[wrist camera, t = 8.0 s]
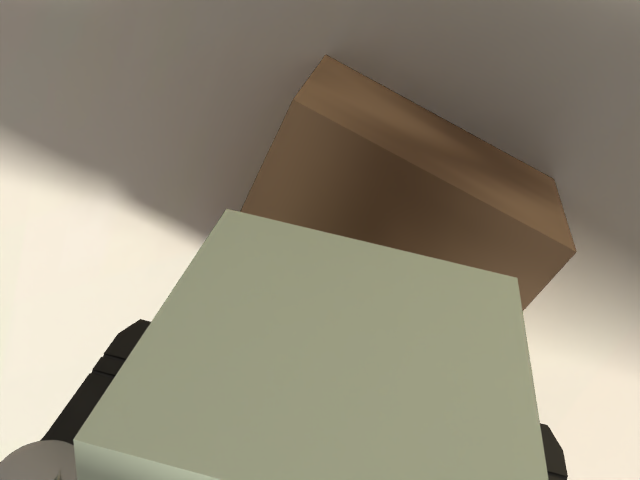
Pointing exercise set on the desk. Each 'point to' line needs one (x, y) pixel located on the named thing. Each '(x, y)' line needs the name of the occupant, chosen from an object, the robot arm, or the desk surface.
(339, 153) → the walnut block
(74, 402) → the robot arm
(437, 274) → the sage cube
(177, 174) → the desk surface
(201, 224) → the desk surface
